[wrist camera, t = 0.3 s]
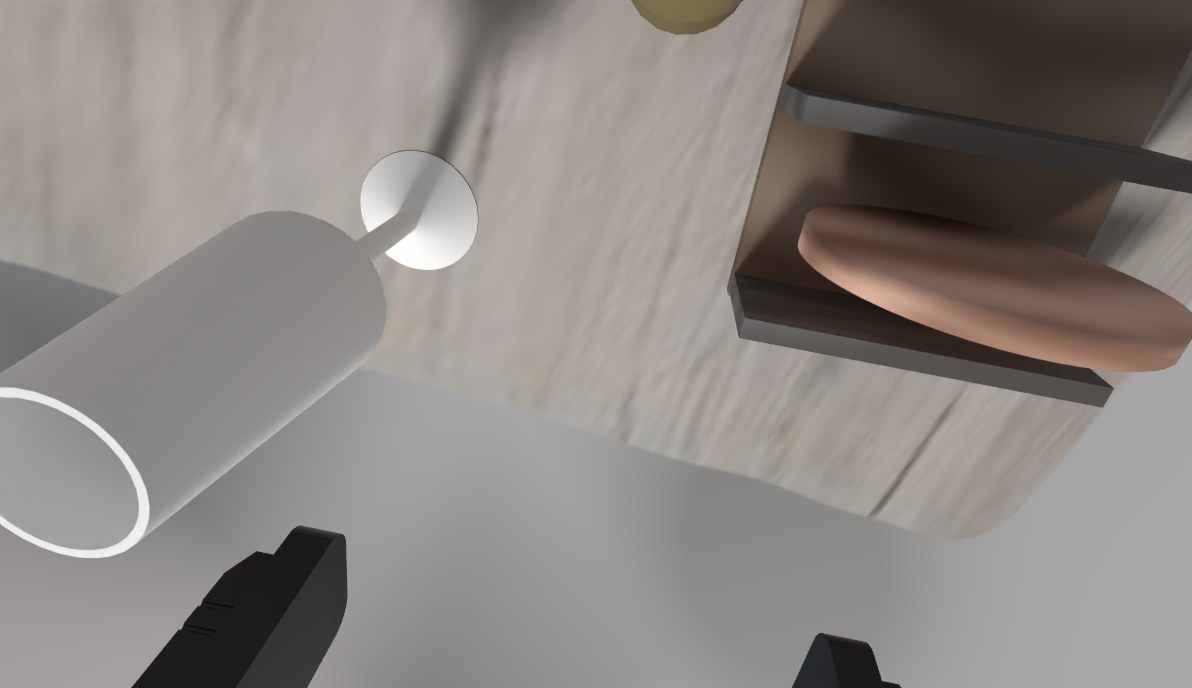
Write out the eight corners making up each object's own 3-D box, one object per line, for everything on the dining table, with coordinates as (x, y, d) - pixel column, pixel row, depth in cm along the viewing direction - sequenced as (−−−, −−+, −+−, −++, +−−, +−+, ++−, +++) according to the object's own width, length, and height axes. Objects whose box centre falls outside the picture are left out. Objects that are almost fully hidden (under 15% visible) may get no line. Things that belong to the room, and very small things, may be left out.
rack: (937, -500, 23) (1302, -1235, 10) (1415, -426, 23) (2501, -1092, 9) (726, 288, 36) (756, 441, 23) (1025, 345, 36) (1235, 534, 22)
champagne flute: (339, 220, 37) (-125, 486, 16) (397, 123, 34) (-67, 280, 13) (438, 292, 38) (136, 629, 17) (501, 203, 36) (238, 469, 14)
